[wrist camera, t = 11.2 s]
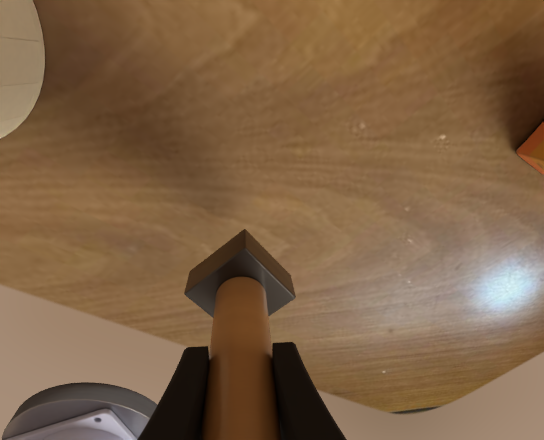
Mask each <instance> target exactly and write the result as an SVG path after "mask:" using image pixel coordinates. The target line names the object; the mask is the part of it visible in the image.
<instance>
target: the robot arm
mask: <svg viewBox="0 0 544 440" xmlns="http://www.w3.org/2000/svg"><path fill="white" fill-rule="evenodd" d="M272 360H273V370H274V379H275V388H276V395H277V403H278V412H279V421H280V431H281V440H346V438H345V437H344V435H343V433H342V432H341V430H340V429H339V428H338V426H337V424H336V423H335V421H334V419H333V418H332V416H331V414H330V413H329V411H328V409H327V408H326V406H325V404H324V402H323V401H322V399H321V397H320V395H319V393H318V392H317V390H316V388H315V386H314V384H313V382H312V380H311V378H310V376H309V374H308V372H307V370H306V368H305V366H304V364H303V362H302V360H301V357H300V355H299V353H298V350H297V348H296V345H295V344H294V343H293V342H284V343H273V348H272ZM208 367H209V352H208V346H205V347H188V348H186V349H185V350H184V352H183V355H182V357H181V360H180V362H179V364H178V366H177V368H176V371H175V373H174V375H173V377H172V379H171V381H170V383H169V385H168V387H167V389H166V391H165V393H164V394H163V396H162V398H161V400H160V402H159V404H158V405H157V407H156V409H155V411H154V412H153V414H152V416H151V418H150V419H149V421H148V423H147V425H146V426H145V428H144V429H143V431H142V433H141V434H140V436H139V437H138V439H137V438H136V437H135V436H134V435H133V434H132V432H131V431H130V430H129V429H128V428H127V427H126V426H125V425H124V424H123V423H122V421H121V420H120V419H119V418H118V417H117V416H116V415H115V414H114V413H113V412H112V411H111V410H110V409H101V410H97V411H94V412H91V413H88V414H85V415H82V416H78V417H75V418H72V419H69V420H66V421H62V422H59V423H56V424H53V425H50V426H46V427H43V428H40V429H37V430H34V431H30V432H27V433H24V434H21V435H18V436H14V437H11V438H8V439H5V440H200V436H201V427H202V418H203V409H204V400H205V394H206V386H207V376H208Z"/></svg>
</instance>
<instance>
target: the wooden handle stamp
mask: <svg viewBox="0 0 544 440" xmlns="http://www.w3.org/2000/svg"><path fill="white" fill-rule="evenodd" d="M184 294H185V295H186V296H187V297H188V298H189V299H191V300H192V301H193V302H194V303H196V304H197V305H198V306H199V307H201V308H202V309H203V310H204V311H206V312H207V313H208V314H209V315H210V316H212V317H213V327H212V336H211V345H210V354H209V367H208V376H207V386H206V394H205V400H204V409H203V418H202V427H201V436H200V440H281V431H280V421H279V412H278V403H277V395H276V388H275V379H274V370H273V360H272V346H271V336H270V327H269V318H268V316H270V315H271V314H273V313H274V312H276V311H277V310H279V309H280V308H282V307H283V306H284V305H286V304H287V303H289V302H290V301H292V300H293V299H295V297H296V296H295V292H294V288H293V283H292V279H291V275H290V274H289V273H288V272H287V271H286V270H285V269H284V268H283V267H282V266H281V265H280V264H279V263H278V262H277V261H276V260H275V259H274V258H273V257H272V256H271V255H270V254H269V253H268V252H267V251H266V250H265V249H264V248H263V247H262V246H261V245H260V244H259V243H258V242H257V241H256V240H255V239H254V238H253V237H252V235H251V234H250V233H249V232H248V231H247V230H245V229H244V230H243V231H241V232H240V233H239V234H237V235H236V236H235V237H234V238H232V239H231V240H230V241H228V242H227V243H226V244H224V245H223V246H222V247H221V248H219V249H218V250H217V251H215V252H214V253H213V254H212V255H210V256H209V257H208V258H206V259H205V260H204V261H203V262H201V263H200V264H199V265H197V266H196V267H195V268H193V269H192V270H191V271H190V273H189V277H188V281H187V285H186V289H185V293H184Z"/></svg>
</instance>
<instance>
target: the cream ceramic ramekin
mask: <svg viewBox="0 0 544 440" xmlns="http://www.w3.org/2000/svg"><path fill="white" fill-rule="evenodd" d="M44 69H45V48H44V41H43V34H42V29H41V25H40V21H39V17H38V14H37V10H36V8H35V5H34V3H33V0H0V139H1V138H2V137H4V136H6V135H8V134H9V133H10V132H12V131H13V130H15V129H16V128H17V127H18V126H19V125H20V124H21V123H22V122H23V121H24V120H25V119H26V118H27V116H28V115H29V113H30V112H31V111H32V109H33V107H34V105H35V103H36V101H37V99H38V97H39V94H40V90H41V87H42V83H43V77H44Z"/></svg>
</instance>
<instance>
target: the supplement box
mask: <svg viewBox="0 0 544 440" xmlns="http://www.w3.org/2000/svg"><path fill="white" fill-rule="evenodd" d="M516 153H517V154H518V155H519V156H520V157H521V158H522V159H524V160H525V161H526V162H527V163H529V164H530V165H531V166H533V167H534V168H535V169H536V170H538V171H539V172H540V173H542V174H543V175H544V121H543V122H542V123H541V125H540V126H539V127H538V128H537V129H536V130H535V131H534V132H533V134H532V135H531V136H530V137H529V138H528V139H527V140H526V141H525V142H524V143H523V144H522V145H521V146H520V147H519V148H518V149H517V150H516Z"/></svg>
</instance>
